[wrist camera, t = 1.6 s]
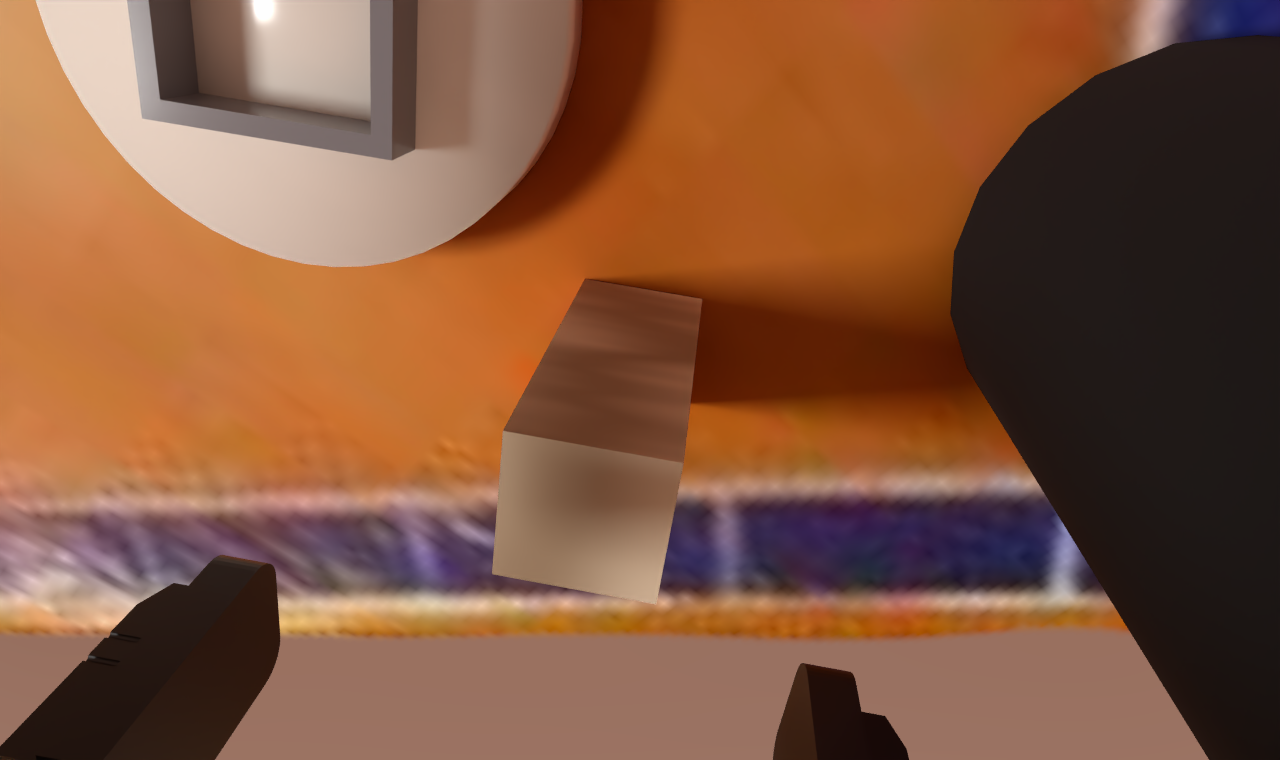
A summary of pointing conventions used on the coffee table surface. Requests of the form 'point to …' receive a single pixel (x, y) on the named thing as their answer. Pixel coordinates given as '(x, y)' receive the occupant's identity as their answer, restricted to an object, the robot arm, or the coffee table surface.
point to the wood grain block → (600, 445)
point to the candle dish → (324, 111)
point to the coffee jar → (1151, 358)
